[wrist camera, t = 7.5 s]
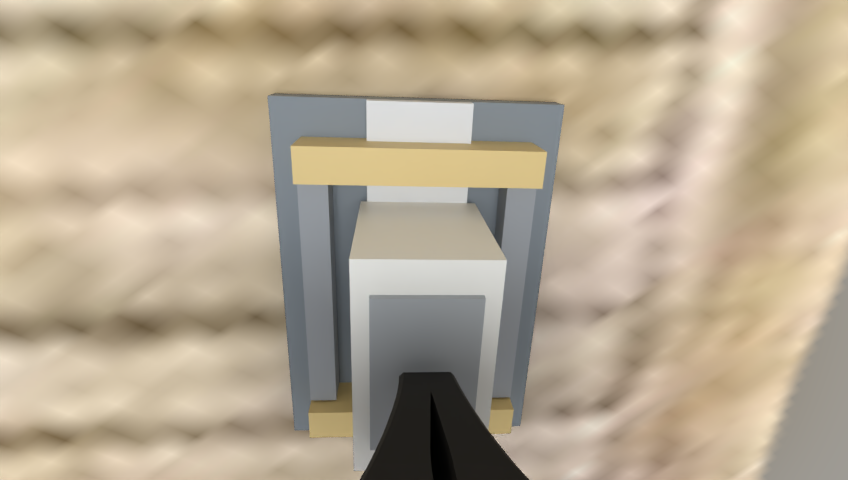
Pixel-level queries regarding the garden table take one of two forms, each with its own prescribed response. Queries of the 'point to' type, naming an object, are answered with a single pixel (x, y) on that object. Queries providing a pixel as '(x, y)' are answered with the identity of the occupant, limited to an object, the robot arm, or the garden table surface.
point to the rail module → (421, 307)
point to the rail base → (403, 182)
